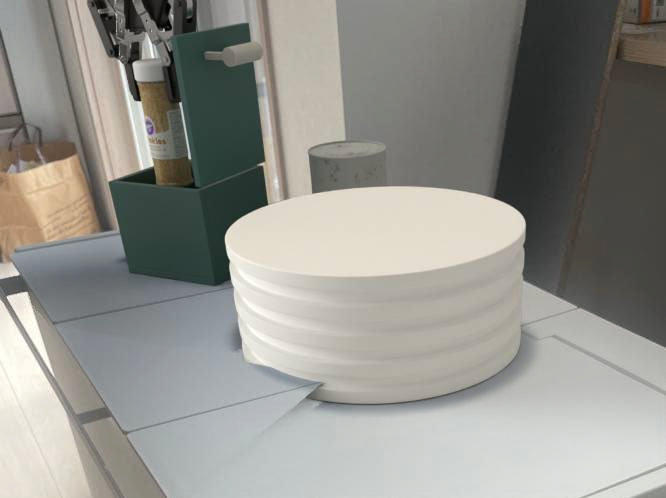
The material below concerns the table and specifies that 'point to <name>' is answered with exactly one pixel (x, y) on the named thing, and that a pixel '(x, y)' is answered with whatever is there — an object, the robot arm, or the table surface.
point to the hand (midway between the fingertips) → (159, 100)
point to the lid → (219, 100)
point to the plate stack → (380, 290)
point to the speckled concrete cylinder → (347, 165)
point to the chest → (183, 222)
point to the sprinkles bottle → (163, 125)
